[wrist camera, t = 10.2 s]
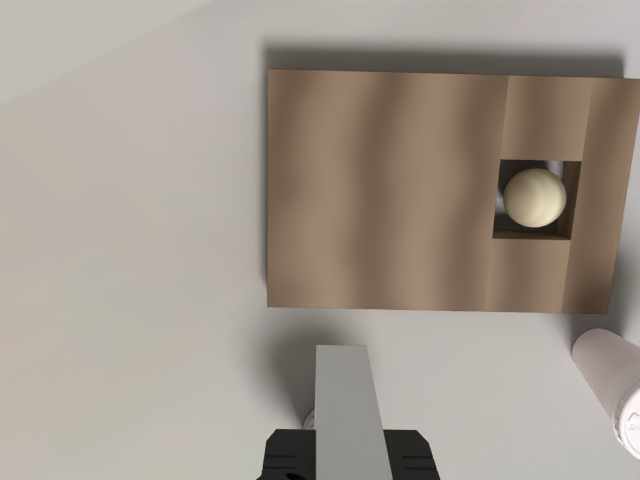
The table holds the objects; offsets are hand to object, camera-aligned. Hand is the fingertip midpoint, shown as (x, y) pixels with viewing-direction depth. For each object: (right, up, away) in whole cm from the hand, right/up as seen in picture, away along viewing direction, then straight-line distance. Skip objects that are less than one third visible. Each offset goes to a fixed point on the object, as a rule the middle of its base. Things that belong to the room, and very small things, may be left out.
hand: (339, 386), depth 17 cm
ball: (+14, +7, +21) cm, 27 cm away
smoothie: (+21, -4, +27) cm, 34 cm away
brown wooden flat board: (+8, +8, +23) cm, 26 cm away
